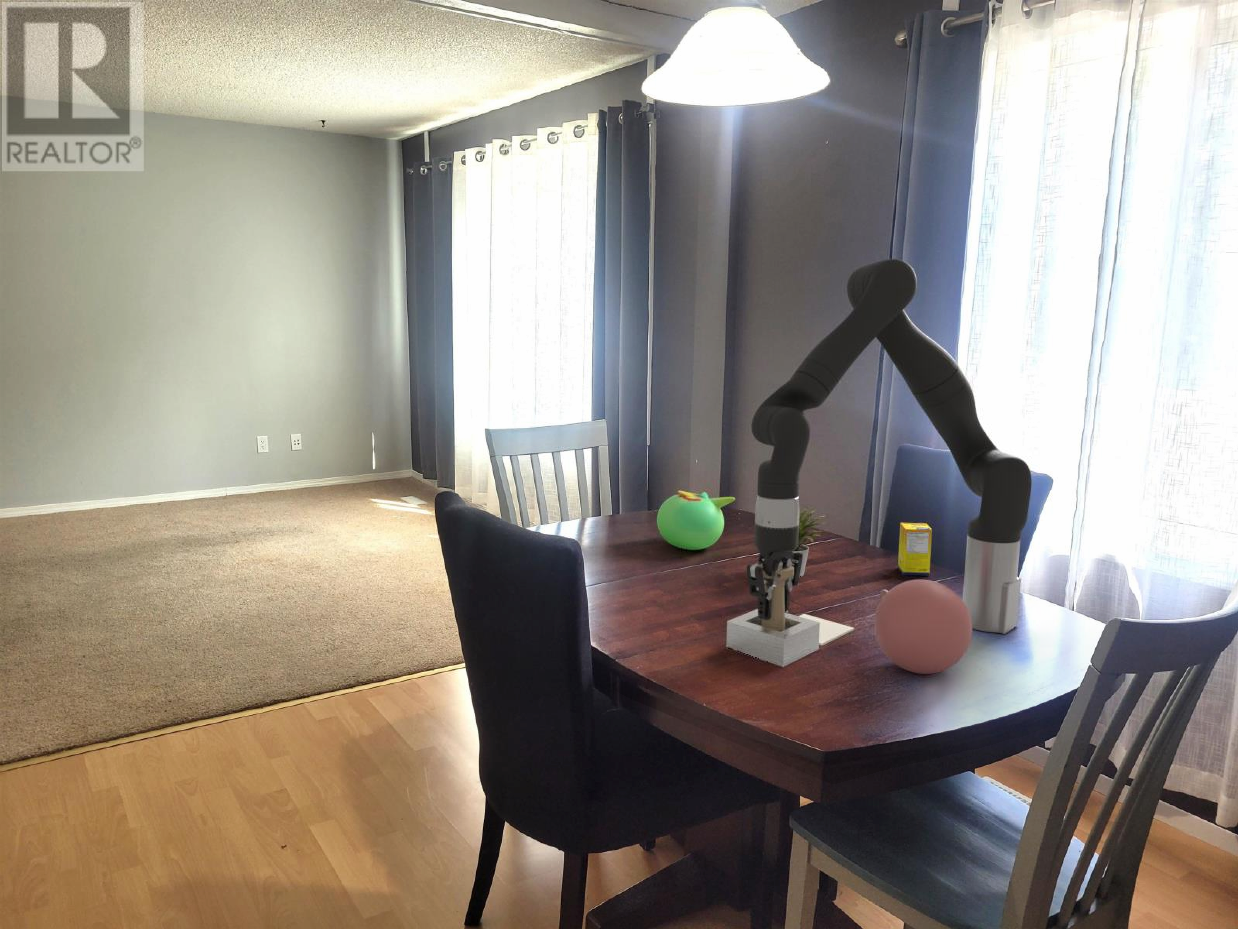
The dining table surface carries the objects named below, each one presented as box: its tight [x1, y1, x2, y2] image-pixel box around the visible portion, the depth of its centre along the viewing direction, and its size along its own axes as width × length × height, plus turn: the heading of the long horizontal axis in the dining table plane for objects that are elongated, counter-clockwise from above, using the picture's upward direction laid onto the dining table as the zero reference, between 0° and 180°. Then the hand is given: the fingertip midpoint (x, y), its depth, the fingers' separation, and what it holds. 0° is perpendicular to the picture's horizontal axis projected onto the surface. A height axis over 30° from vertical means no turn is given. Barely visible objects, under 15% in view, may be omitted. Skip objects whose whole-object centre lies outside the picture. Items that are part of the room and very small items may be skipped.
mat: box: [798, 613, 855, 646], centre depth 168 cm, size 11×11×1 cm
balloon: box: [873, 579, 973, 675], centre depth 151 cm, size 15×20×15 cm
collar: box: [726, 608, 820, 668], centre depth 158 cm, size 12×11×5 cm
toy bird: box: [656, 490, 736, 551], centre depth 223 cm, size 18×17×15 cm
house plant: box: [793, 505, 830, 578], centre depth 200 cm, size 14×14×16 cm
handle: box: [762, 566, 794, 632], centre depth 157 cm, size 5×6×15 cm
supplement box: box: [897, 522, 933, 577], centre depth 203 cm, size 6×6×11 cm
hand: (773, 614), depth 158 cm, fingers open, 5 cm apart
